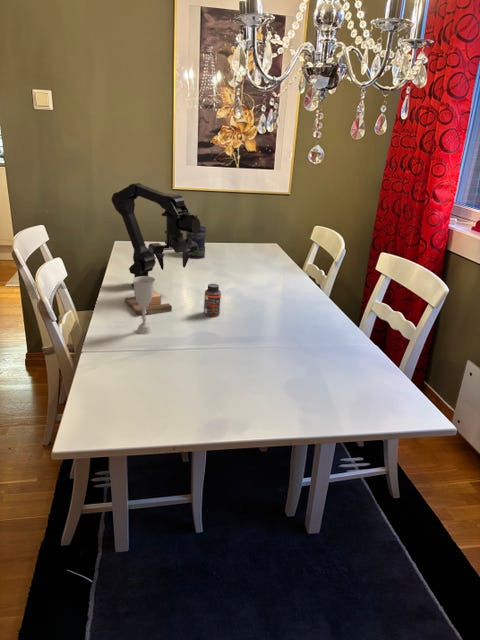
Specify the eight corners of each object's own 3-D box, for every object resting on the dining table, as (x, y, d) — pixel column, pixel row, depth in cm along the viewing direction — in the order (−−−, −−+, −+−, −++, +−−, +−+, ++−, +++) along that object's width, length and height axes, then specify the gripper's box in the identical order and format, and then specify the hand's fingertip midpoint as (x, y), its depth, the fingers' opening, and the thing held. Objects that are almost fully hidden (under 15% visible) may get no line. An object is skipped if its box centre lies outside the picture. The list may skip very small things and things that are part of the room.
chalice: (146, 325, 167) (145, 274, 160) (159, 331, 163) (159, 279, 156) (128, 331, 162) (127, 279, 155) (142, 337, 158) (141, 284, 151)
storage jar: (183, 254, 254) (183, 225, 248) (200, 253, 258) (201, 225, 252) (189, 259, 245) (190, 230, 240) (207, 258, 249) (209, 229, 244)
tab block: (145, 304, 185) (144, 292, 183) (155, 303, 187) (155, 291, 185) (150, 310, 180) (150, 297, 178) (160, 308, 182) (160, 296, 180)
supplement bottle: (205, 317, 177) (206, 287, 172) (202, 311, 182) (203, 282, 178) (221, 316, 178) (223, 287, 174) (217, 310, 184) (219, 282, 179)
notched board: (124, 303, 185) (124, 298, 184) (157, 298, 191) (157, 293, 190) (137, 316, 174) (137, 310, 173) (171, 311, 180) (171, 306, 179)
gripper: (158, 235, 175) (158, 276, 181) (205, 232, 184) (203, 272, 190) (147, 228, 184) (147, 268, 190) (192, 226, 193) (191, 264, 199)
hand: (173, 268), depth 192 cm, fingers open, 9 cm apart
